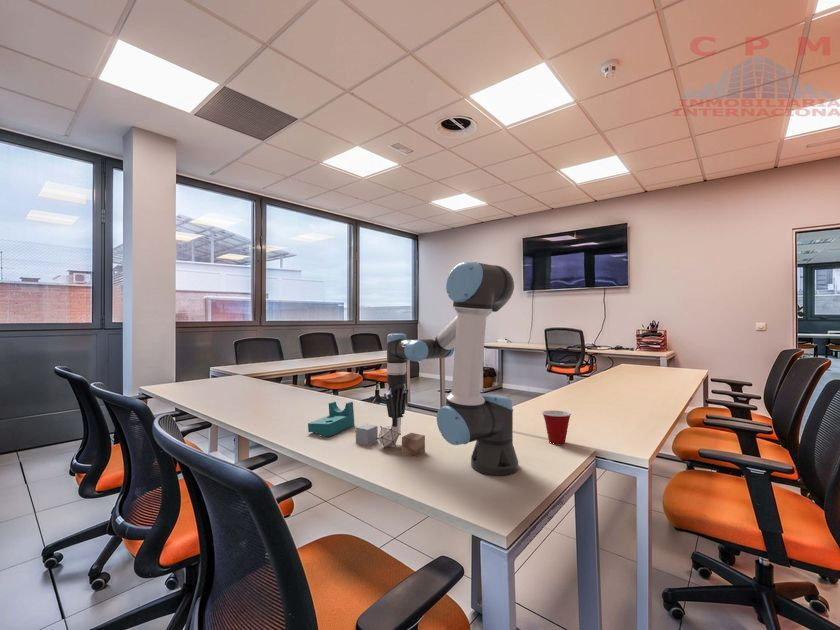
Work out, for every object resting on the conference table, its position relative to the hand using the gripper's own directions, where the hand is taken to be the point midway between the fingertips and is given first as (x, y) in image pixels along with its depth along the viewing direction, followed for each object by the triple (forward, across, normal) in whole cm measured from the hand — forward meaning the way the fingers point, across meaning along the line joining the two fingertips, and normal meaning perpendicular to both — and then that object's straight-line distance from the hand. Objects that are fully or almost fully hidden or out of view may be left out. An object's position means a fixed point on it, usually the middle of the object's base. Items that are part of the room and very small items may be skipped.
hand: (396, 434), depth 140 cm
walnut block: (+4, +5, +11) cm, 13 cm away
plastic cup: (+4, -35, +52) cm, 62 cm away
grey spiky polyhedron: (+4, +5, 0) cm, 6 cm away
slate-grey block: (+4, +5, -11) cm, 12 cm away
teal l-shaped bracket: (+4, +1, -34) cm, 34 cm away
